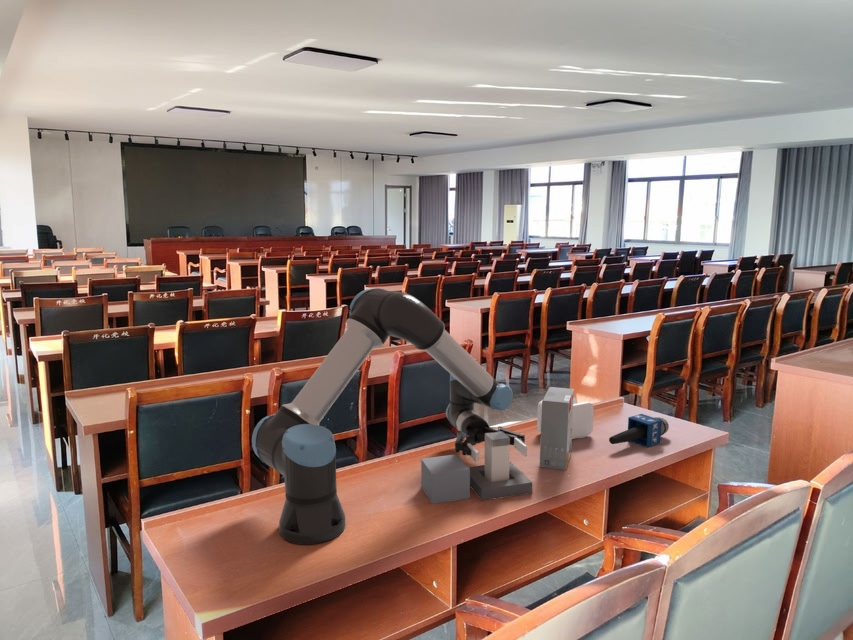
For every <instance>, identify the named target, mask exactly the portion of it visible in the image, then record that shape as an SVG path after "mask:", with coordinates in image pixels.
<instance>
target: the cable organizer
mask: <svg viewBox="0 0 853 640" xmlns="http://www.w3.org/2000/svg"><path fill="white" fill-rule="evenodd" d="M536 411H537V414H536V415H537V416H536V417H537V418H536V419H537V420H536V429H537V430H538V432H539V433H541V417H542V400H540V401H539V402H538V404H537V410H536ZM593 428H594V404H593V403H591V402H589V401H583V402H578V400H577V398H576V397H574V396H573V419H572V440H575V439H584V438H587V437H588V436H590V435H591V434H592V433H593V431H594V429H593Z"/></svg>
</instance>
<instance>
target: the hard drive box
mask: <svg viewBox="0 0 853 640" xmlns="http://www.w3.org/2000/svg"><path fill="white" fill-rule="evenodd" d="M574 393H575V389H574V388H565V387H555V386H549V387H548V389H547V391H546V392H545V394H544V396H543V399H542V400H541V401H542V417H541V432H540V442H539V463H538V465H539V467H541V468H545V469H554V470H560V471H561V470H563V471H566V469H567V467H568V463H569V460H570V457H571V453H572V444H573V443H572V442H573V441H572V440H573V439H572V419H573V397H574Z"/></svg>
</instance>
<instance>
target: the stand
mask: <svg viewBox="0 0 853 640" xmlns="http://www.w3.org/2000/svg"><path fill="white" fill-rule="evenodd" d="M420 459H421V461H420V468H421V469H420V470H421V471H420V472H421V473H420V474H421V475H420V476H421V479H420V480H421V488H422V491H423V492H424V493H425V495H426V496H427V498H428V499H429V502H431V504H432V505H436V504H441V503H447V502H448V503H449V502H455V501H461V500H469V498H471V487H470V469H469V467H470V466H468V465H467V464H466V463H465V462H464V461H463V459H462V458H461V457H460V456H459V455H458V454H457V453H456V454H448V455H441V456H433V457H432V456H431V457H424V458H420Z"/></svg>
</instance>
